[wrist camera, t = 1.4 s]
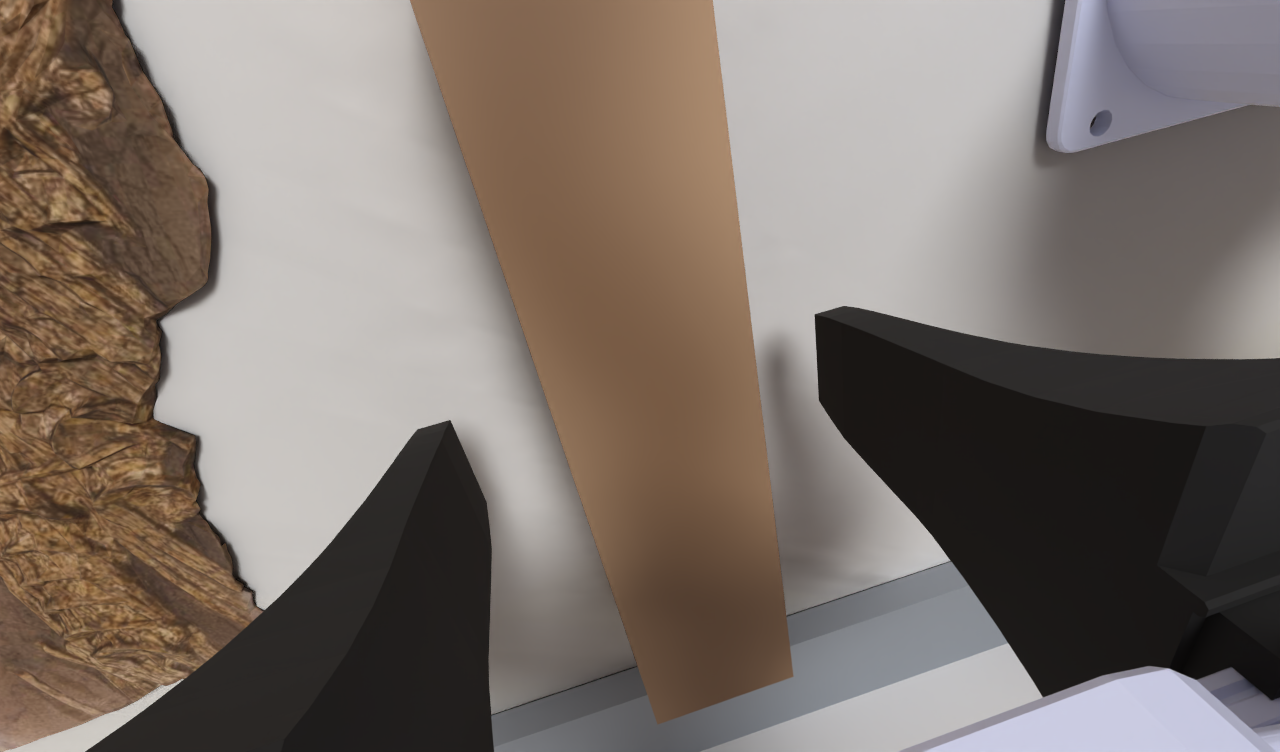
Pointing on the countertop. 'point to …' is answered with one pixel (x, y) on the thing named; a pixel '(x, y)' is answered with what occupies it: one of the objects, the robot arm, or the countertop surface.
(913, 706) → the balance stand
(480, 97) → the walnut batten
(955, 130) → the countertop surface
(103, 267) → the fossil skeleton slab
